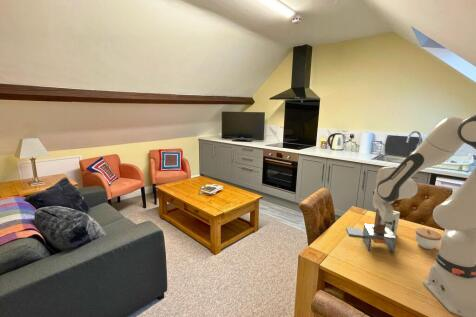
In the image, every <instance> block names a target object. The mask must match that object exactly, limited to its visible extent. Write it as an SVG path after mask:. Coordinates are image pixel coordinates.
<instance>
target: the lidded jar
mask: <svg viewBox="0 0 476 317" xmlns="http://www.w3.org/2000/svg"><path fill="white" fill-rule="evenodd" d="M414 238H415V241H416V242H417V244H418V245H419V247H421V248H422V249H426V250H433V249H435V248H437V247H438V246H439V245H440V244H441V240H442V235H441V234H440V233H439V232H437V231H436V230H433V229H430V228H425V227H417V228H416V229H415V236H414Z"/></svg>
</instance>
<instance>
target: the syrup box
mask: <svg viewBox="0 0 476 317" xmlns="http://www.w3.org/2000/svg"><path fill="white" fill-rule="evenodd" d="M400 215H401V212H400V211H396V210H394V209H393V220H392V222H386V226H388V227H389V228H390V229H391V231H392V232H393V234H394V235H395V236H397V234H398V227H399V220H400ZM384 234H385V232H384Z"/></svg>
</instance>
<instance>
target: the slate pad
mask: <svg viewBox="0 0 476 317" xmlns="http://www.w3.org/2000/svg"><path fill="white" fill-rule="evenodd" d="M346 232H347V234H348V236H350V237H358V238H359V237H360V238H362V237H363V229H362V228H360V227H359V228H357V227H351V226H350V227H348V226H347V227H346Z"/></svg>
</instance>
